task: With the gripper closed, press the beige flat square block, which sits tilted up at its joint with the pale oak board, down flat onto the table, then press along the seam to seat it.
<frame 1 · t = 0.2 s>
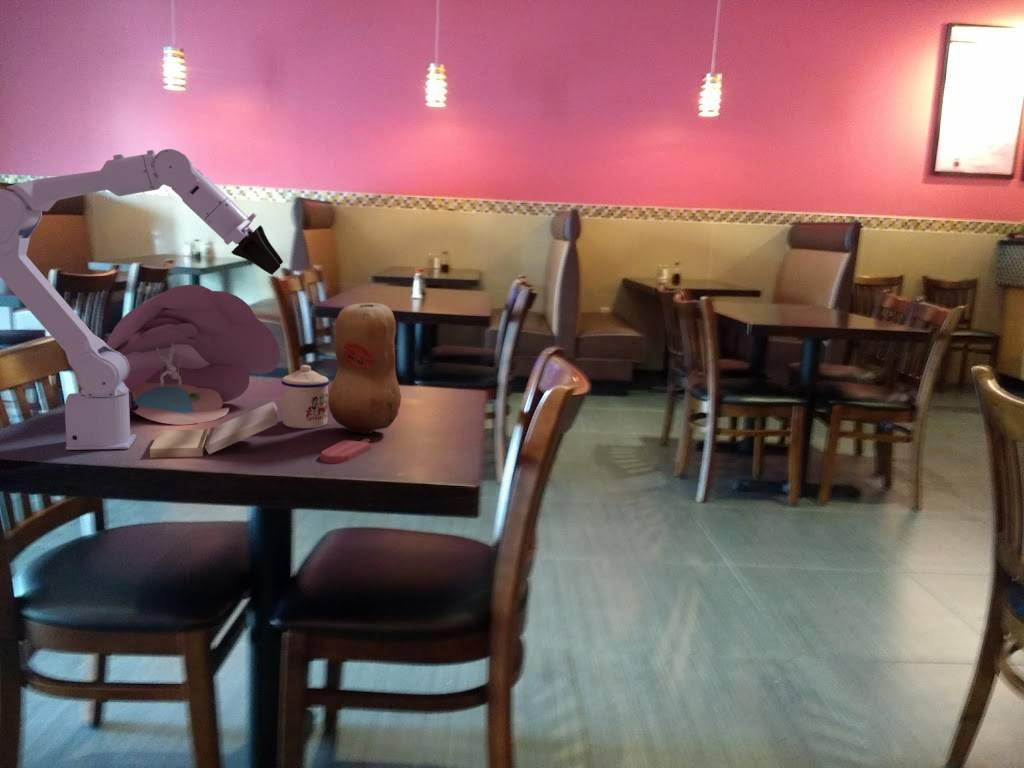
hand: (277, 268, 136), 31 cm above the table, tool tilted 45°, fingers open, 7 cm apart
teacup with lid: (309, 423, 157), on the table
mauve lumpy shape: (179, 414, 158), on the table
beige flat square block: (242, 426, 136), point 4 cm above the table, hinge at 25.0°
butternut squash: (364, 433, 151), on the table
laid board: (180, 447, 134), on the table
popsicle: (348, 454, 138), on the table
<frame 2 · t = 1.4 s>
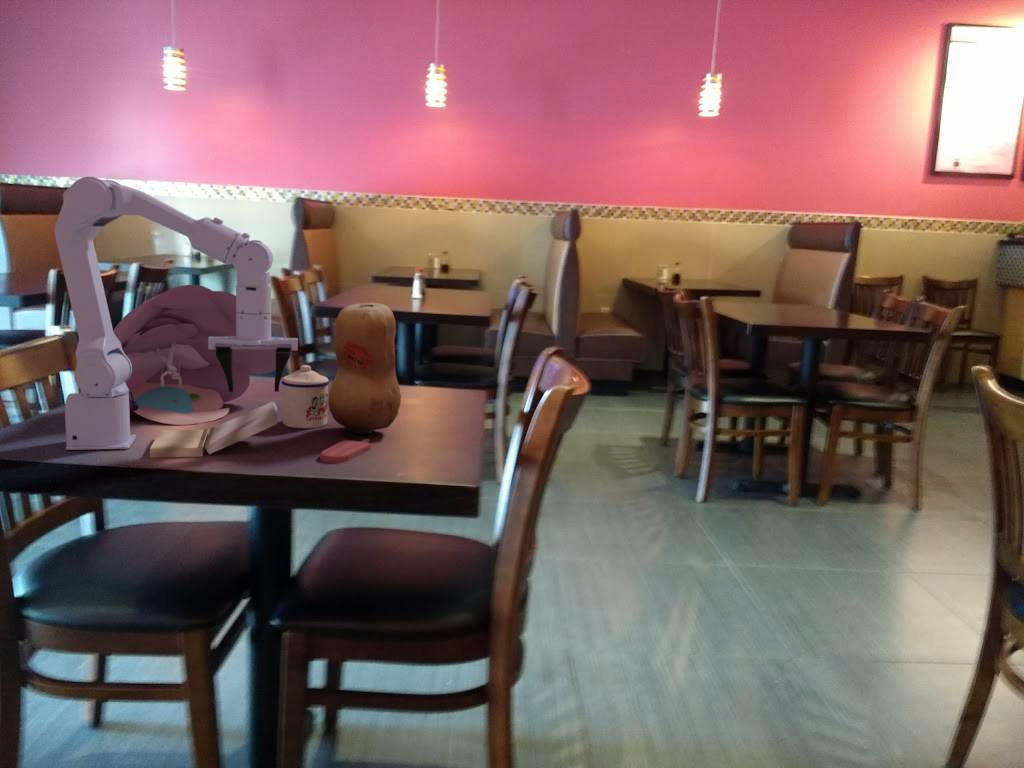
hand: (254, 390, 136), 10 cm above the table, tool pointing down, fingers open, 7 cm apart
nothing on the table moved.
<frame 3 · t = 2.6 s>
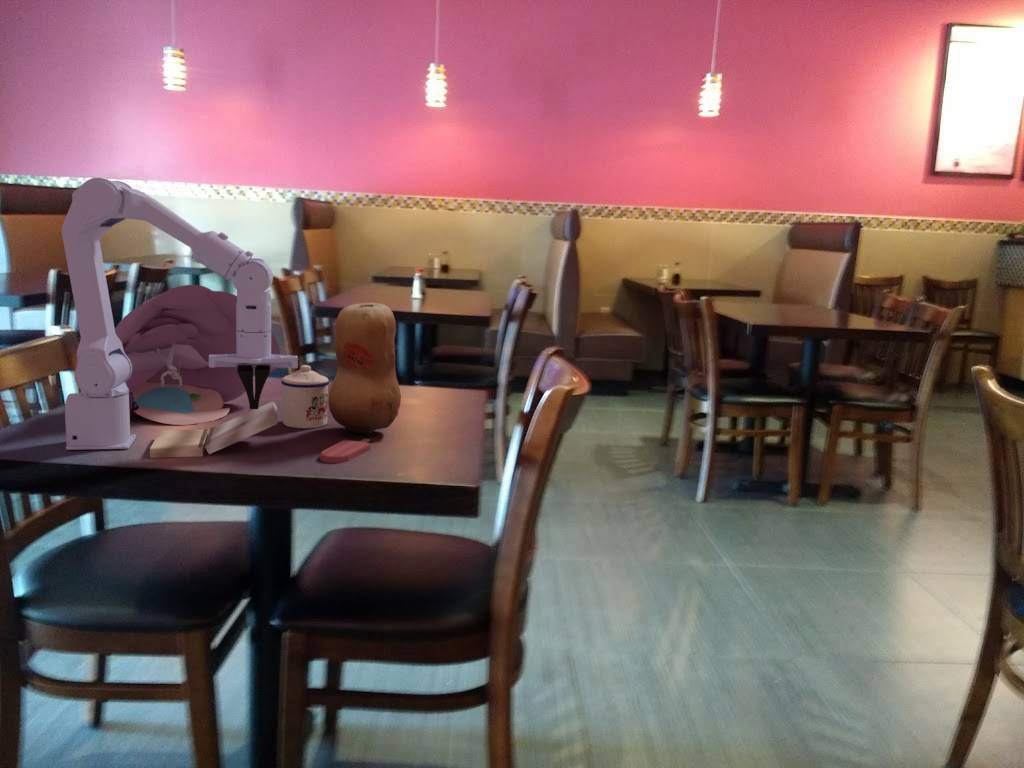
hand: (254, 408, 136), 7 cm above the table, tool pointing down, fingers closed
nothing on the table moved.
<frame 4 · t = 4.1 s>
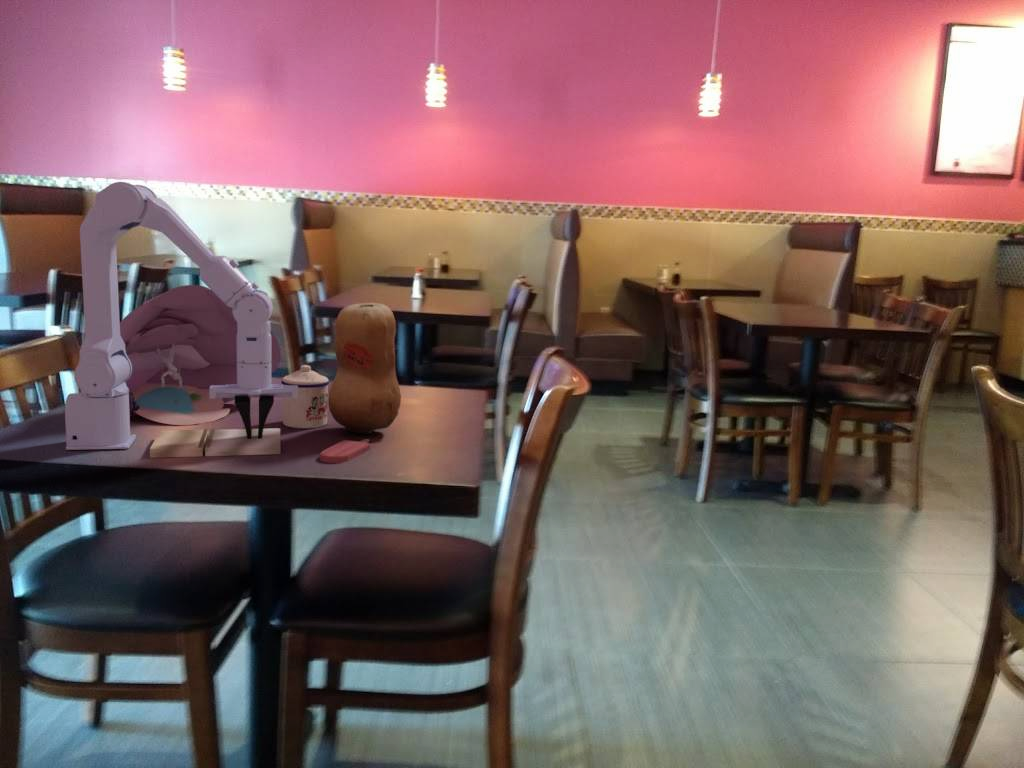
hand: (254, 437, 137), 1 cm above the table, tool pointing down, fingers closed on beige flat square block
beige flat square block: (244, 441, 137), point 1 cm above the table, hinge at 0.4°, touching gripper
everything else where it was.
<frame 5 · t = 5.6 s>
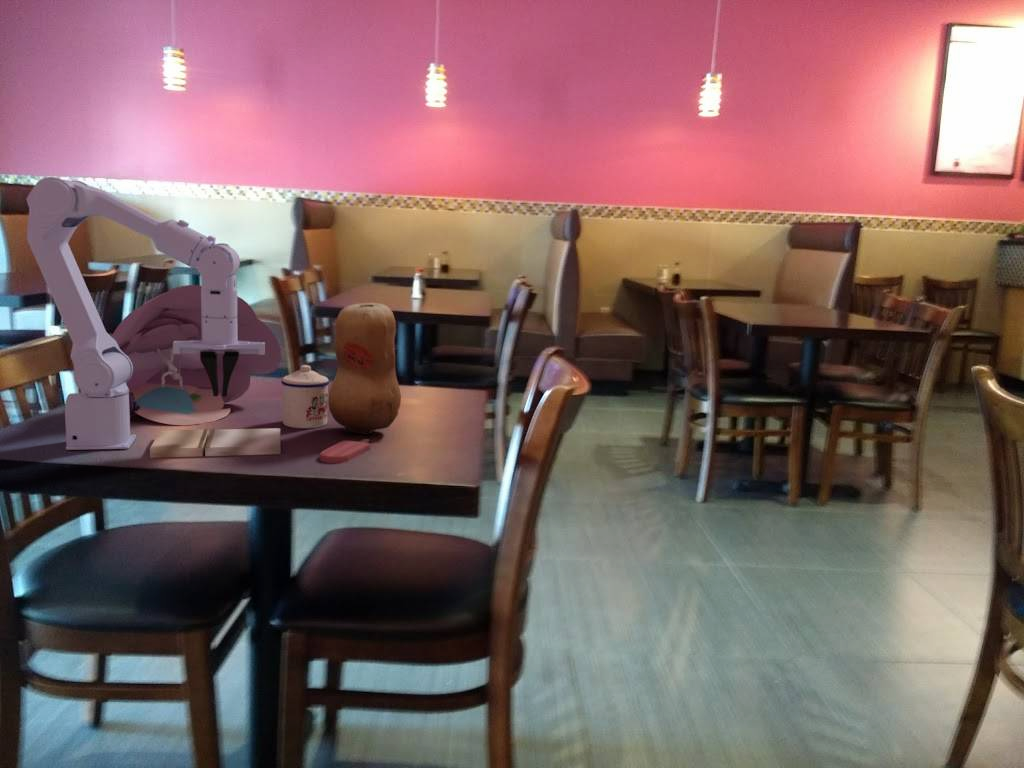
hand: (220, 395, 134), 9 cm above the table, tool pointing down, fingers closed
beige flat square block: (244, 441, 137), point 1 cm above the table, hinge at 0.3°
everything else where it was.
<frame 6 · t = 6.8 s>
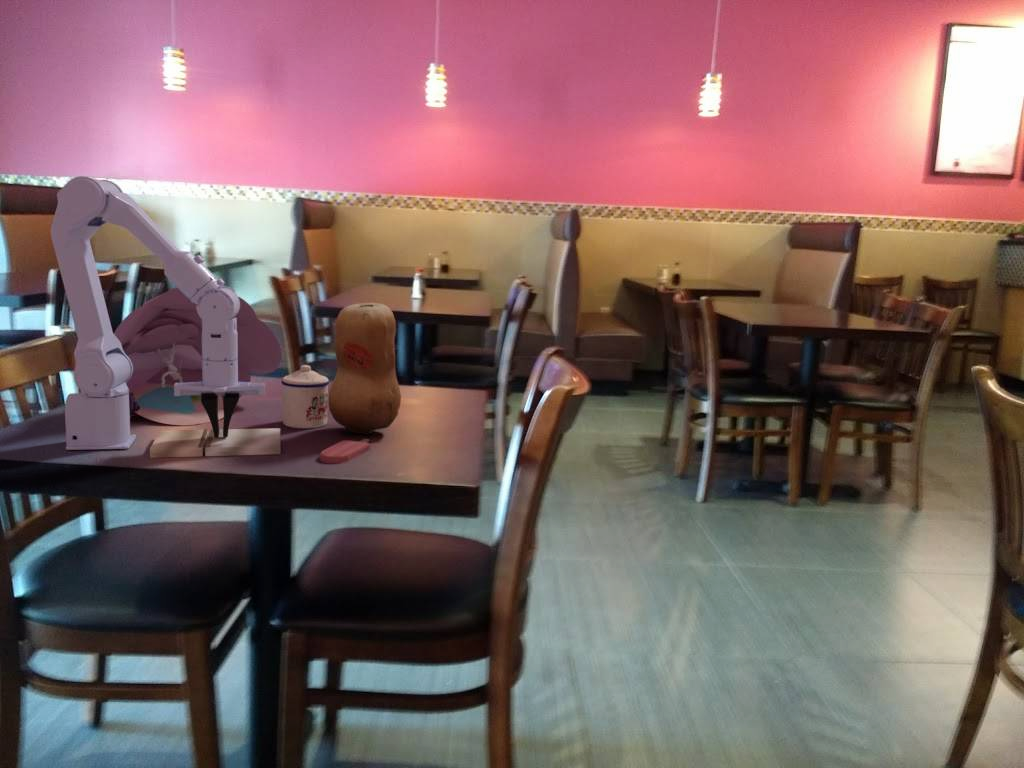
hand: (221, 435, 136), 2 cm above the table, tool pointing down, fingers closed
nothing on the table moved.
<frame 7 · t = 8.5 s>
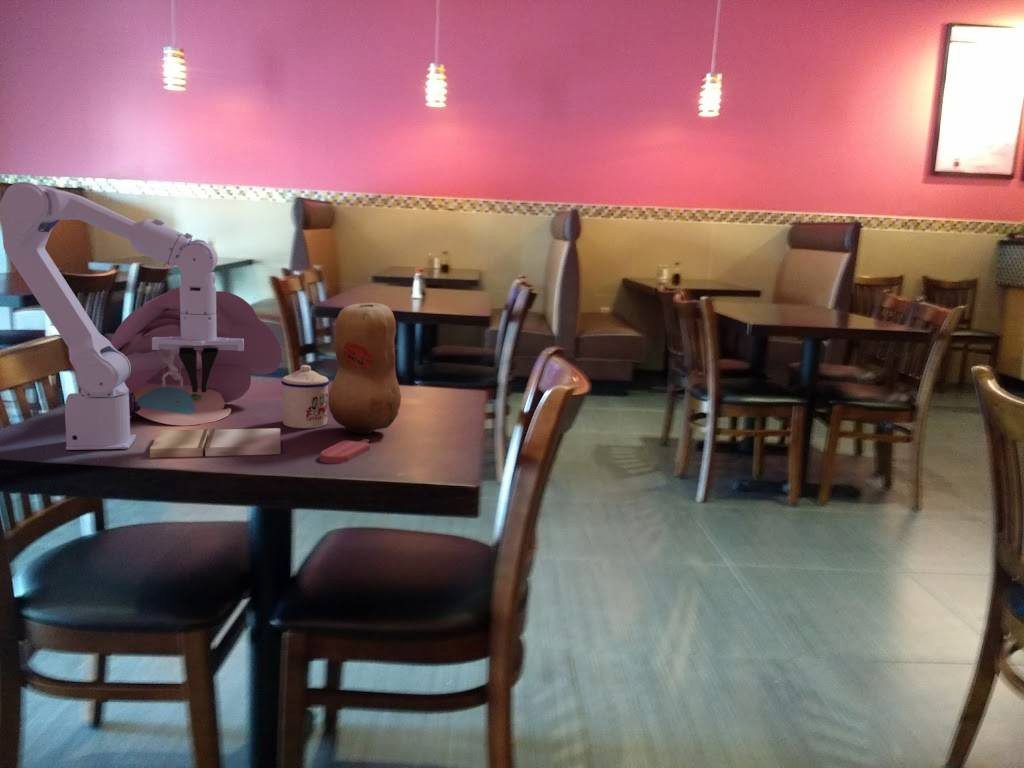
hand: (199, 391, 135), 9 cm above the table, tool pointing down, fingers closed
nothing on the table moved.
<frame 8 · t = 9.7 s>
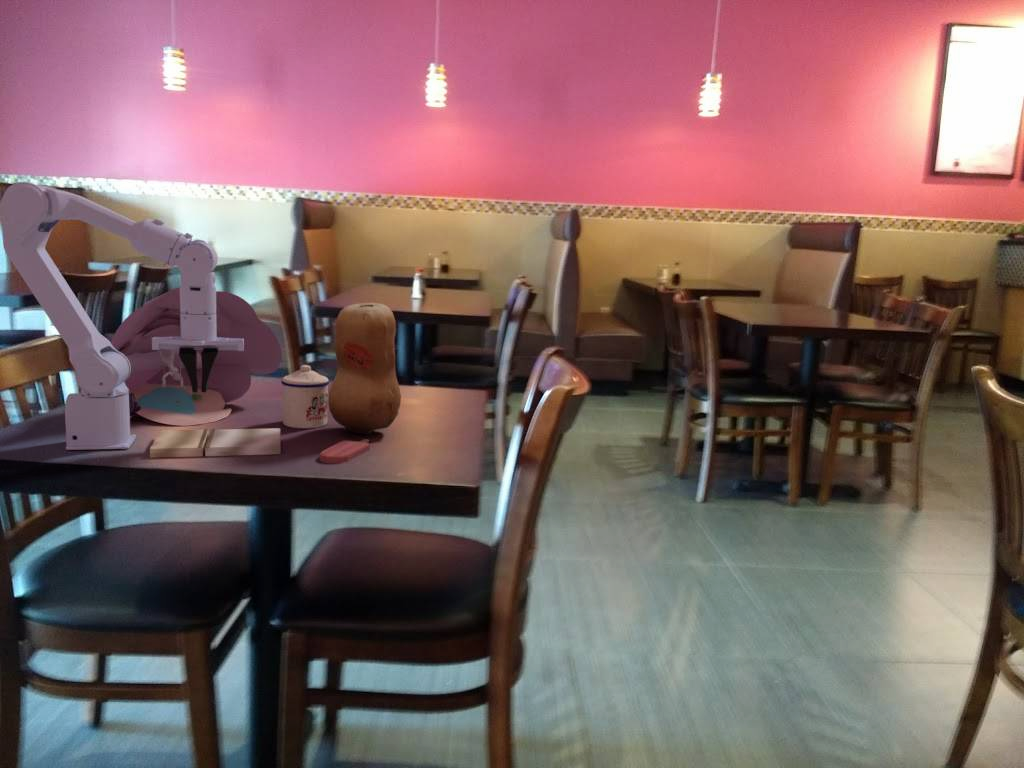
hand: (199, 391, 135), 9 cm above the table, tool pointing down, fingers closed
nothing on the table moved.
at the end: beige flat square block at +0° (first picture: +25°) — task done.
